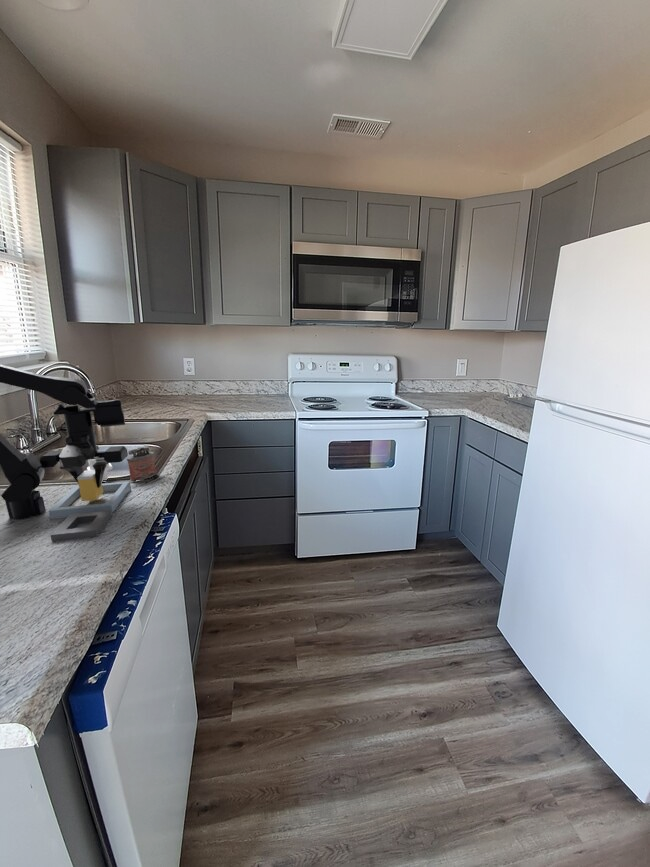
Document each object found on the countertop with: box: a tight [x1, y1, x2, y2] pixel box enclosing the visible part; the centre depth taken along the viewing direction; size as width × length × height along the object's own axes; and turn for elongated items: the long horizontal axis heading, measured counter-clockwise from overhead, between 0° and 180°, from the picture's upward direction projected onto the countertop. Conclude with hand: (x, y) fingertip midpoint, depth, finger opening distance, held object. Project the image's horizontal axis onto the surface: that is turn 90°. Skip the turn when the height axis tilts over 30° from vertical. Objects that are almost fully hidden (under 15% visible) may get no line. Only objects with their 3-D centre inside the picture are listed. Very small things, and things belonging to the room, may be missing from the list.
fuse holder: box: [50, 510, 113, 542], centre depth 91 cm, size 9×10×2 cm
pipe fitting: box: [86, 459, 113, 481], centre depth 121 cm, size 6×7×8 cm
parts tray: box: [48, 480, 132, 519], centre depth 105 cm, size 14×16×3 cm
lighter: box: [126, 445, 157, 481], centre depth 122 cm, size 8×3×10 cm, turn 141°
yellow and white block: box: [77, 469, 103, 502], centre depth 104 cm, size 4×5×6 cm
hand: (91, 487), depth 104 cm, fingers closed on yellow and white block, 3 cm apart
